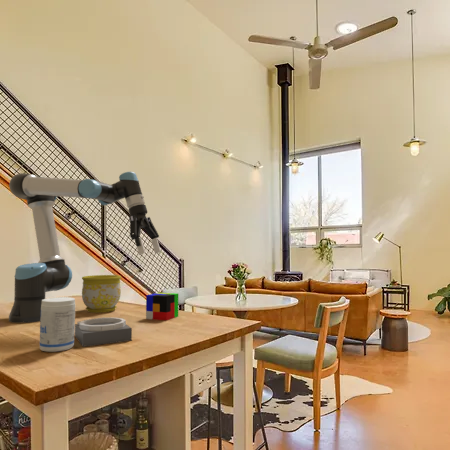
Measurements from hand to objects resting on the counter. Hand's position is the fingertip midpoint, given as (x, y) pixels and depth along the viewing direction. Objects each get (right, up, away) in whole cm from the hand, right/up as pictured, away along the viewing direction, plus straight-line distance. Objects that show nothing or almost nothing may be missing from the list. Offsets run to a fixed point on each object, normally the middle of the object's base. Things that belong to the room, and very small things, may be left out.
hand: (150, 253), depth 159 cm
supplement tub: (-19, -25, -47) cm, 56 cm away
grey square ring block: (-9, -26, -34) cm, 44 cm away
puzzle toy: (+5, -28, +3) cm, 29 cm away
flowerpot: (-28, -29, +21) cm, 45 cm away
